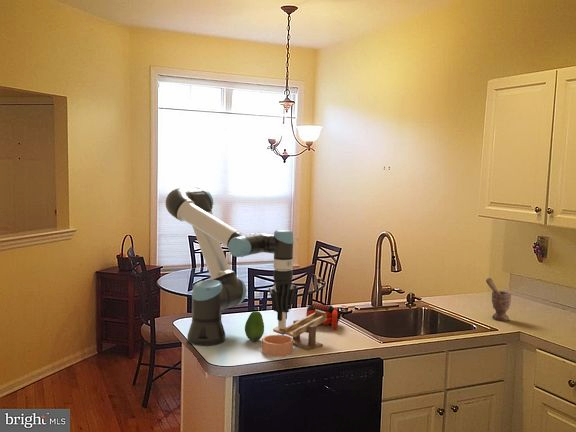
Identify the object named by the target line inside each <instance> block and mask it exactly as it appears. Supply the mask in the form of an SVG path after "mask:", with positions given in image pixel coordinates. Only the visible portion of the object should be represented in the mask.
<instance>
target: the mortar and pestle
mask: <svg viewBox="0 0 576 432" xmlns="http://www.w3.org/2000/svg"><path fill="white" fill-rule="evenodd" d="M485 282H486V284H487V285H488V286H489V288H490V289H491V290H492V291H491V303H492V307H493V309H494V310H495V313H494V314H492V319H493V320H494V321H500V322H506V321H509V320H510V318H509V316H508V315H507V312H508V310H509V309H510V305H511V302H512V301H511V299H512V293H511V292H510V291H504V290H498V288H497V287H496V285H495V282H494V280H493V279H492V278H491V277H489V278H486V280H485Z"/></svg>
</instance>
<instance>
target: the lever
mask: <svg viewBox="0 0 576 432" xmlns="http://www.w3.org/2000/svg"><path fill="white" fill-rule="evenodd" d="M326 320H327V316H326V312H323V311H320V310H317V309H316V310H315V313H313V314H311V315H309V316H307V317H303V318H302V319H300V321H298V322H296V323H294V324H293V323H292V324H290V325H288V326H287V327H286V328H284V329H281V328H278V326H277V327H274V328H273V329H272V331H273V332H274V333H277V334H278V335H285V336H288V337H291V338H293V337H297V336H299V335H300V336H301V335H302V334H304V333H306V334H309V326H311V325H315V326H316V327H317V326H319V325H322V324H321V323H323V322H324V321H326Z"/></svg>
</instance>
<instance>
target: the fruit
mask: <svg viewBox="0 0 576 432" xmlns="http://www.w3.org/2000/svg"><path fill="white" fill-rule="evenodd" d="M244 331H245V335H246V338H247V339H248V340H249V341H252V342H257V341H259V340H261V339H262V337H263V335H264V332H265V323H264V319H263V315H262V314H261V312H260V311H257V310H255V311H251V313H250V314H249V316H248V318H247V319H246V322H245V325H244Z"/></svg>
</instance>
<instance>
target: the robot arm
mask: <svg viewBox="0 0 576 432" xmlns="http://www.w3.org/2000/svg"><path fill="white" fill-rule="evenodd" d="M213 205H214V198H213V196H212V194H211V193H210V192H209V191H208V190H206V189H204V188H199V187H191V188H189V187H187V188H186V187H185V188H182V187H181V188H180V187H179V188H175V189H173V190H171V191H170V192H169V193H168V194H167V196H166V198H165V208H166V211H167V212H168V213H169V214H170V216H172V217H173V218H175V219H176V220H178V221H180V222H185V223H187V224H189V225H191V226H192V229H193V232H194V235H195V238H196V239H197V242H198V246H199V248H200V251H201V254H202V256H203V260H204V262H205V264H206V268H207V271H208V273H209V275H210V278H209V279H206V280H200V281H198V282H196V283H194V285H193V286H192V293H191V323H190V325H189V326H190V327H189V329H188V333H187V339H186V341H187V342H188V343H189V344H192V345H195V346H215V345H219V344H222V343H224V342H225V340H226V331H225V328H224V326H223V322H222V311H224V310H227V309H230V308H234V307H236V306H237V305H241V303H243V301H244V300H245V298H246V296H247V286H246V283H245V282H244V281H243V279H241V278H240V277H237V275H236V272H235V271H234V270H232V269H230V266H229V264H228V261H227V258H226V256H225V252H224V250H223V248H222V245H223V246H225V247H226V248H228V249H227V250H228V251H229V253H230V255H231V256H233V257H236V258H244V257H247V256H252V255H257V254H261V253H264V254H265V253H267V254H273V276H272V277H273V280H274V282H273V286H271V287H268V292H269V294H270V299H271V304H272V305H271V306H272V310H273V311H274V312H275V313H277V314H276V315H277V319H276V320H277V321H278V323H277V327H278V328H281V329H284V328H286V326H287V319H288V313H289V312H290V310H292V305H293V303H294V302H293V301H294V295H295V291H296V289H297V284H296V285H295V284H293V281H292V279H293V276H294V275H293V274H294V273H293V266H294V264H293V263H294V242H295V241H294V233H293V231H292V230H289V229H276V230H274V232H273V234H271V233H261V232H251V233H249V235H245V234H243V233H242V232H241V231H239V230H237V229H235V228H234V227H232V226H230V225H229V224H227V223H225V222H224V221H222V220H221V219H219V218H217V217H216V216H213V211H212V210H213V208H214V207H213Z"/></svg>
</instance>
